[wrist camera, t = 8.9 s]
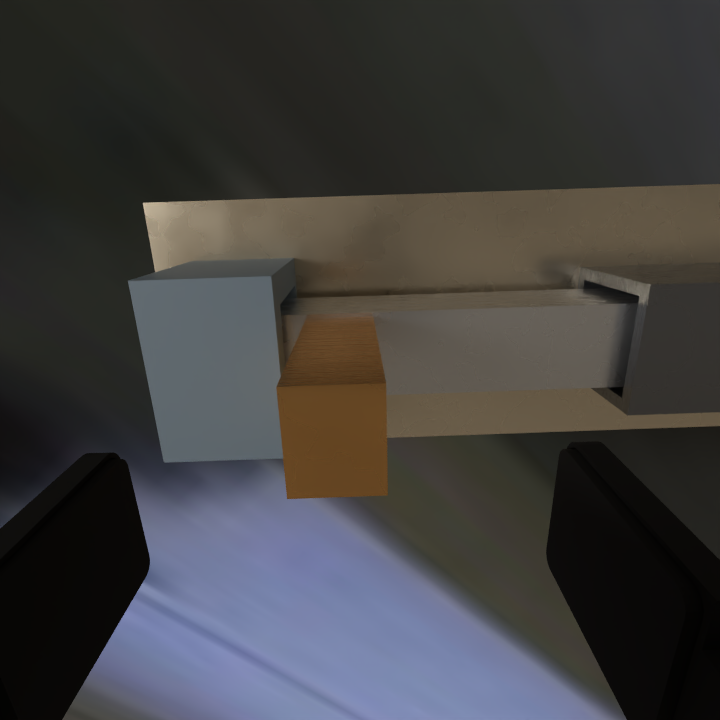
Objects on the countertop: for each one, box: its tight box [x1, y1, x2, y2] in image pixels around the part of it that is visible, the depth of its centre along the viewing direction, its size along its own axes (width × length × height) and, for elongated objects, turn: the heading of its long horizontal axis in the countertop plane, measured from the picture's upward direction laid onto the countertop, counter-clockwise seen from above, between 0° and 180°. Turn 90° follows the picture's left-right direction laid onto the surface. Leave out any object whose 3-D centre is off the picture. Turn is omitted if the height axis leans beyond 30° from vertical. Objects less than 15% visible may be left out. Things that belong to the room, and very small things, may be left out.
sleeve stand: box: [143, 184, 720, 438], centre depth 23 cm, size 41×14×7 cm, turn 92°
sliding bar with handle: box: [276, 288, 639, 499], centre depth 18 cm, size 23×4×12 cm, turn 92°
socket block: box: [128, 258, 297, 462], centre depth 22 cm, size 6×8×7 cm
